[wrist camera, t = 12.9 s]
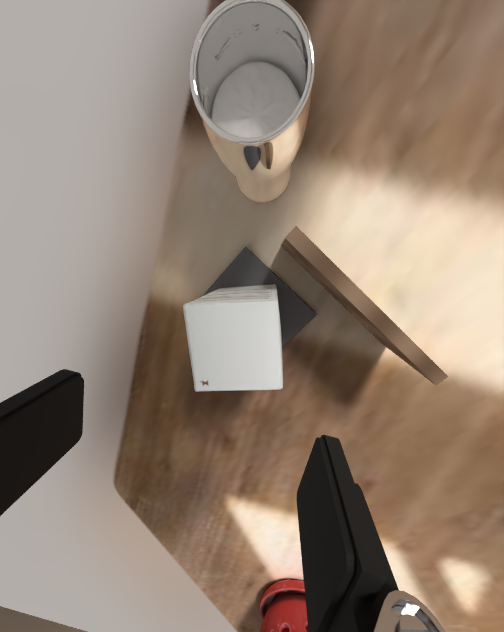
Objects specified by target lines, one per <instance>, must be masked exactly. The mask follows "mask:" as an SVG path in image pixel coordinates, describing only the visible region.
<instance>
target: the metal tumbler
mask: <svg viewBox="0 0 504 632" xmlns="http://www.w3.org/2000/svg"><path fill="white" fill-rule="evenodd" d="M189 69H190V70H189V75H190V86H191V92H192V96H193V99H194V102H195V105H196V107H197V109H198V111H199V113H200V116H201V119H202V122H203V125H204V127H205V130H206V132H207V135H208V137H209V139H210V141H211V144H212V146H213V148H214V149H215V151H216V153H217V154H218V156H219V158H220V159H221V161H222V162H223V163H224V165H225V166H226V167H227V168H228V169H229V170H230V171H231V172H232V173H233V174H234V175H235V176H236V177H237V182H238V185H239V188H240V189H241V191H242V192H243V194H244V195H245V196H246V197H248V198H249V199H251V200H253V201H256V202H269V201H272V200H274V199H276V198H277V197H279V196H280V195H281V194H282V193H283V191H284V190H285V189H286V187H287V185H288V182H289V179H290V165H291V163H292V162H293V160H294V158H295V156H296V155H297V153H298V151H299V148H300V146H301V143H302V140H303V137H304V134H305V130H306V126H307V121H308V115H309V109H310V101H311V91H312V84H313V79H314V70H315V59H314V49H313V44H312V40H311V37H310V34H309V31H308V29H307V27H306V25H305V23H304V21H303V19H302V18H301V16H300V15H299V14H298V12H297V11H296V10H295V9H294V8H293V7H292V6H291V5H290V4H289V3H287V2H286V1H285V0H226V1H224V2H223V3H221V4H220V5H219V6H218V7H216V8H215V9H214V10H213V11H212V12H211V14H210V15H209V16H208V17H207V19H206V20H205V21H204V23H203V25H202V26H201V28H200V30H199V32H198V34H197V37H196V39H195V42H194V45H193V49H192V52H191V58H190V68H189Z"/></svg>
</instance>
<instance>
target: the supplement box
mask: <svg viewBox="0 0 504 632" xmlns="http://www.w3.org/2000/svg"><path fill="white" fill-rule="evenodd" d="M183 311H184V318H185V324H186V331H187V338H188V345H189V354H190V359H191V366H192V373H193V380H194V389H195V391H196V392H198V391H235V390H275V389H282V387H283V373H282V341H281V325H280V314H279V305H278V296H277V288H276V284H273V285H260V286H245V287H231V288H220V289H217V290H215V291H213V292H210V293H208V294H206V295H204V296H202V297H200V298H198V299H196V300H194V301H191V302H189V303H185V304H184V306H183Z"/></svg>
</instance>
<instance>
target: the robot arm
mask: <svg viewBox="0 0 504 632" xmlns="http://www.w3.org/2000/svg"><path fill="white" fill-rule="evenodd" d="M83 396H84V380H83V378H82V377H81V374H80V373H78V372H74V371H70V370H66V369H63V370H60V371H58V372H56V373H55V374H53V375H51V376H49V377H47V378H45V379H44V380H42V381H40V382H38V383H36V384H34V385H33V386H31V387H29V388H27V389H25V390H23V391H21V392H20V393H18V394H16V395H14V396H12V397H10V398H8V399H7V400H5V401H3V402H1V403H0V516H1V515H2V514H3V513H4V512H5V511H6V510H7V509H8V508H9V507H10V506H11V505H12V504H13V503H14V502H15V501H16V500H18V499H19V498H20V496H22V495H23V494H24V493H25V492H26V491H27V490H28V489H29V488H30V487H31V486H32V485H33V484H34V483H35V482H36V481H38V480H39V479H40V478H41V477H42V476H43V475H44V474H45V473H46V472H47V471H48V470H49V469H50V468H51V467H52V466H53V465H54V464H55V463H56V462H57V461H59V459H60V458H62V457H63V456H64V455H65V454H66V453H67V452H68V451H69V450H70V449H71V448H72V447H73V446H74V445H75V444H76V443H77V442H78V441H79V440H80V438H81V436H82V427H83V426H82V425H83ZM297 509H298V520H299V532H300V543H301V554H302V565H303V577H304V588H305V599H306V610H307V622H308V631H309V632H445V630H444V629H443V627H442V626H441V624H440V623H439V621H438V620H437V618H436V617H435V616H434V615H433V614H432V613H431V612H430V610H429V609H428V608H427V607H426V606H425V605H424V604H423V603H421V602H420V601H419V600H418V599H417V598H415V597H414V596H412V595H410V594H408V593H406V592H404V591H399V590H398V587H397V584H396V581H395V579H394V576H393V573H392V571H391V568H390V565H389V563H388V560H387V557H386V554H385V552H384V549H383V546H382V544H381V541H380V538H379V535H378V533H377V530H376V527H375V525H374V522H373V519H372V516H371V514H370V511H369V508H368V506H367V503H366V500H365V498H364V495H363V492H362V490H361V488H360V486H359V485H358V484H356V483H354V480H353V478H352V475H351V472H350V469H349V466H348V463H347V460H346V457H345V455H344V452H343V449H342V446H341V443H340V441H339V439H338V438H335V437H331V436H327V435H322V436H321V438H316V440H315V443H314V446H313V448H312V451H311V454H310V457H309V460H308V462H307V465H306V468H305V471H304V474H303V477H302V479H301V482H300V485H299V488H298V491H297ZM0 632H87V631H83V630H80V629H76V628H73V627H69V626H66V625H63V624H59V623H56V622H52V621H49V620H45V619H42V618H38V617H35V616H32V615H28V614H25V613H21V612H18V611H14V610H11V609H8V608H4V607H1V606H0Z"/></svg>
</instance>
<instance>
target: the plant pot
mask: <svg viewBox="0 0 504 632" xmlns="http://www.w3.org/2000/svg"><path fill="white" fill-rule="evenodd" d="M260 613H261V616H262V618H263V623H262V626H261V630H260V632H309V631H308V622H307V610H306V599H305V588H304V581H299V580H283V581H279V582H276V583H274V584H273V585H271V586H270V587H269V588H268V589H267V590H266V591H265V592H264V594H263V596H262V598H261V602H260Z"/></svg>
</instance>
